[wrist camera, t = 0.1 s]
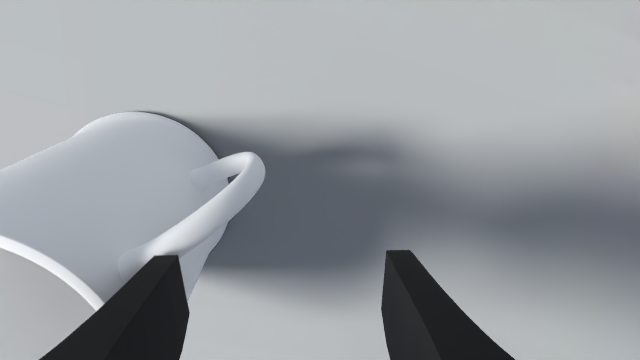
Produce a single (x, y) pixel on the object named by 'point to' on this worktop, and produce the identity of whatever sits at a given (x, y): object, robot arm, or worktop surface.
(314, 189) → the worktop surface
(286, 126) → the worktop surface
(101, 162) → the mug
